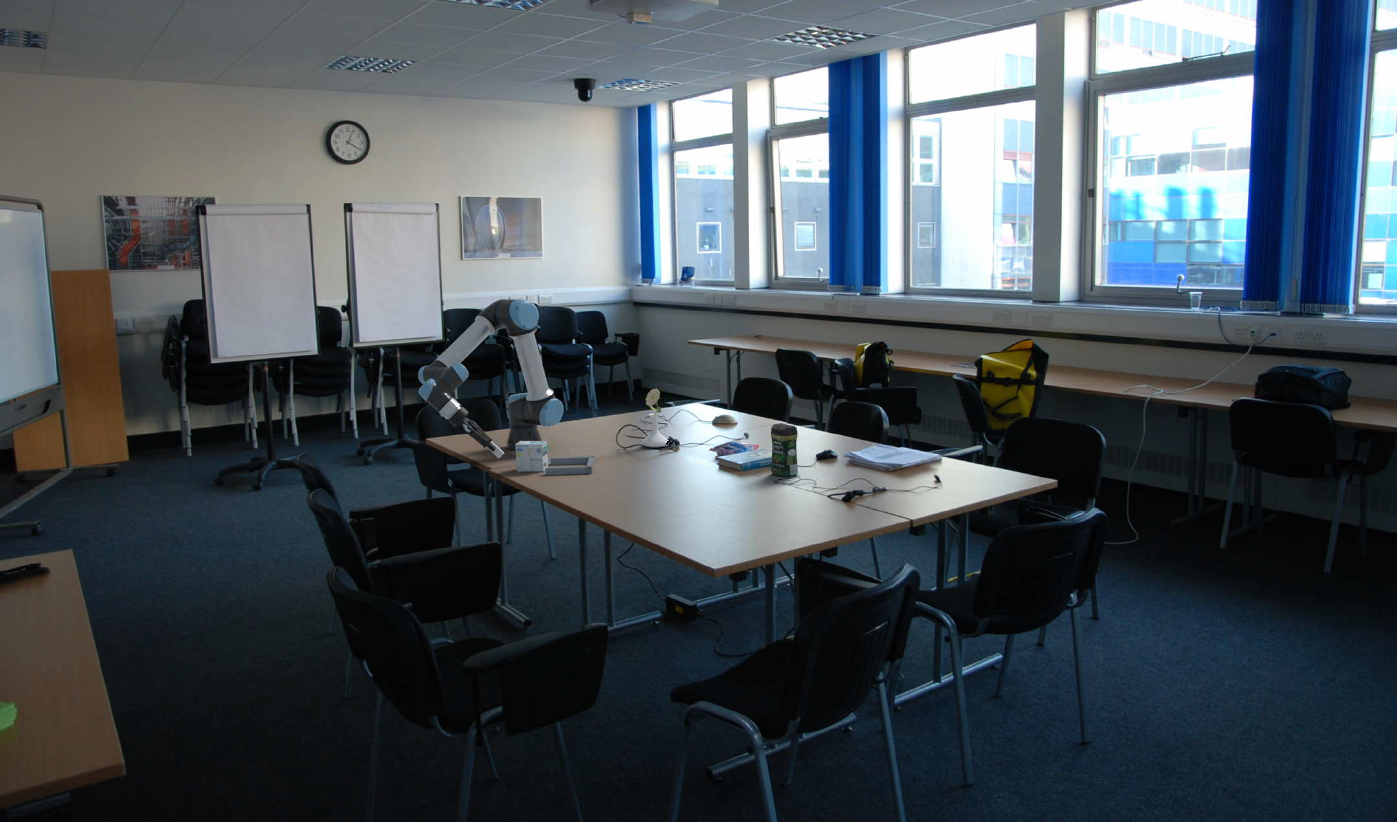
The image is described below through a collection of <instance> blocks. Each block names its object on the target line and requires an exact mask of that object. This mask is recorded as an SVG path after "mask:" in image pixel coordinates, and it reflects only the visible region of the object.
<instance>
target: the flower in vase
mask: <svg viewBox="0 0 1397 822" xmlns="http://www.w3.org/2000/svg"><path fill="white" fill-rule="evenodd" d="M660 394H661V392H660V390H658V389H657V388H655V389H654V388H653V389H651V390H650V391H649V392H648V393H647V395H646V398H645V401H646V402H645V404H646V406H648V407H650V409H651V410H653V411H654V413H653V412H652V413H649V414H648V416H649V417H650V419H651V424H652V425H651V426H652V430H651V432H650V433H649V434H648V435H646V437H645V438H644V439H643V440H642V442H641V444H642V446H645V447H646V448H661V447H666V446H665V444H666V443H667V441H669V440H668V439H667V437H666V436H664V435H662V434H661V432H660V431H659V426H658V425H659V424H658V423H659V418H660V417H661V415H662V414H661V413H662V409H661V407H660V406H659V404H658V401H659V399H660ZM654 405H656V408H654V407H653V406H654Z"/></svg>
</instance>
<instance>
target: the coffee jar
mask: <svg viewBox="0 0 1397 822" xmlns="http://www.w3.org/2000/svg"><path fill="white" fill-rule="evenodd" d="M798 434H799V433H798V428H797V427H796V426H795V425H790V424H786V423H782V422H781V423H780V422H779V423H774V424H772V425H771V428H770V438H771V461H770V462H771V465H770V467H771V468H770V472H771V474H772V475H775V476H779V477H784V478H785V477H788V478H790V477H789V476H792V477H794V476H797V475H798V474H799V471H798V469H799V468H798V454H797V453H798V449H797V441H798Z"/></svg>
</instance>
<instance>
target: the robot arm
mask: <svg viewBox="0 0 1397 822" xmlns="http://www.w3.org/2000/svg"><path fill="white" fill-rule="evenodd" d="M539 319H540V313H539V311H538V308H537V307H536V305H535V304H534V303H533V302H531V301H530V300H527V299H526V300H525V299H522V298H518V299H516V298H515V299H514V298H513V299H506V298H503V299H501V298H500V299H499V300H498V299H497V300H496V301H494V302H492V303H491V304H489V305H488V306H487V307H485V308H484V309H483V310H482V311H481V312H479V313H478V315H476V317H475V319H474V322H473V323H472V324H471V325H470V326H469V327H467V329H466V330H465V331H464V332H463V333H462V334H460V336H459V337H458V338H456V340H454V341H453V343H452V344H451V345H449V347H447V348H446V349H445V350H444V351H443V352H442V353H441V354H440V355H439V356H438V357H437V358H436V359H435V360H434V361H433V362H432V363H431V364H430V365H429V364H428V365H424V366H422V367H420V368H419V370H418V373H417V374H418V375H417V376H418V381H419V382H420V383H421V384H422V385H421V386H420V387H419V389H418V394H419V396H420V397H421V398H422V399H423V400H424V401H425V402H426V403H428V405H430V406H431V407H432V408H434V409H435V410H436V411H437V412H438V413H439V414H440V417H441V418H442V417H444V418H445V420H448V423H450V424H451V425H452V426H453V427H455V428H456V427H458V426H459V425H460V426H461V429H462V430H463V432H464V433H466V434H467V435H468V436H470V437H471V438H472V439H473V440H475V441H476V442H477V443H479V444H480V446H482V447H483V449H486V448H487V449H488V451H490V452H491V453H492V454H493V455H494V456H495V457H496V458H497V459H500V458H502V456H503V455H504V454H505V452H504V451H503V450H502V449H501V448H500V447H498V446H497V444H495V442H493V438H492V437H490V436H489V435H488V434H487V433H486V432H485V431H484V430H483V429H482V428H481V427H480V425H478V423H476V421H474V420H473V419H471V418H468V417H467V416H468V415H469V413H470V412H469V411H468V410H467V409H466V408H465V407H464V406H461V403H459V401H457V400H456V399H455V398H454V397H453V396H452V395H451V394H453V393H454V392H455V391H456V390H457V389H458V388H459V387H460V386H461V385H462V384H464V382H465V381H466V380H467V379H468V378H469V375H470V374H469V371H468V369H467V368H466V366H465V365H463V364H462V362H463V361H464V360H465V359H466V358H467V357H469V355H470V354H471V353H472V352H473V351H474V350H475V349H476V348H477V347H478V346H479V345H481V343H482V342H483V341H484V340H485V339H486V338H487V337H488V336H491V335H494V334H495V332H497V331H499V330H501V329H506V332H507V335H508V337H509V338H511V339H512V340H513V343H514V347H515V350H516V353H517V358H518V361H519V364H520V368H521V372H522V376H523V379H524V382H525V385H526V390H527V392H523V393H515V394H514V393H513V394H511V395H509V396H508V403H507V407H508V419H509V421H508V422H509V432H508V435H507V438H506V439H507V440H506V449H508V448H509V449H508V450H511V451H512V450H513V451H514V450H515V451H516V446H515V444H516V443H518V442H520V441H543V439H542V436H541V434H540V431H539V427H538V426H542V427H553V426H556V425H558V423H559V422H560V421H561V420H562V417H563V414H564V404H563V403H562V401H561V400H559V399H558V398H556V396H555V393H554V390H553V389H552V388H549V384H548V380H547V377H546V373H545V369H544V366H543V362H542V358H541V355H540V354H541V353H540V351H539V348H538V344H537V343H538V342H537V340H536V336H535V334H536V332H537V330H538V329H537V325H538V322H539Z"/></svg>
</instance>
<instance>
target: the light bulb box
mask: <svg viewBox="0 0 1397 822" xmlns="http://www.w3.org/2000/svg"><path fill="white" fill-rule="evenodd" d="M547 443H548V442H547V441H546V440H542V441H520V442H518V443H516V444H515V446H516V450H515V464H516V472H517V473H518V472H521V473H522V472H523V473H525V472H537V473H538V472H541V473H542V472H545V468H546V467H549V463H548V462H549V459H548V458H549V457H548V444H547Z"/></svg>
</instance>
